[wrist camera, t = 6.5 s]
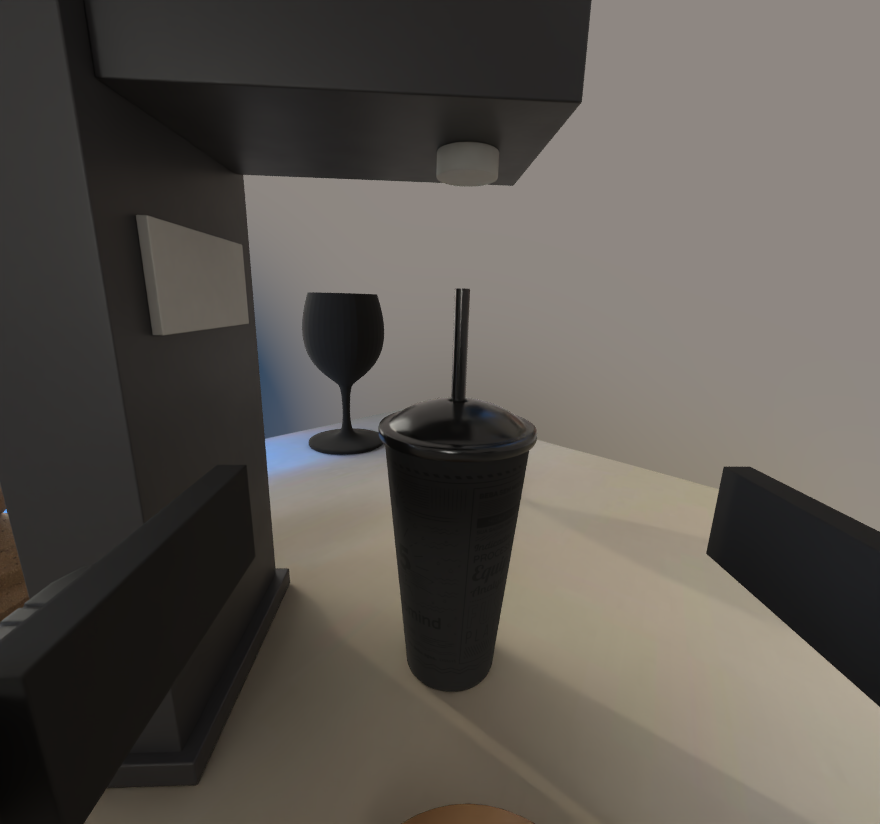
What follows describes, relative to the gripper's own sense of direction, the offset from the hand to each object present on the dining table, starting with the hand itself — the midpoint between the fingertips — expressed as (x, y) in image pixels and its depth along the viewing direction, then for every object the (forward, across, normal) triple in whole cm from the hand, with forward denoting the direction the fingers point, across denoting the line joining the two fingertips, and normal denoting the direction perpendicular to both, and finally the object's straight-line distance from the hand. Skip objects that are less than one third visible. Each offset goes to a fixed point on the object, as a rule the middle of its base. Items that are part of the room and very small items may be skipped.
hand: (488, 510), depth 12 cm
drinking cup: (+9, 0, -14) cm, 17 cm away
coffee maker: (+9, -7, -14) cm, 18 cm away
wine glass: (+47, -12, -14) cm, 50 cm away
